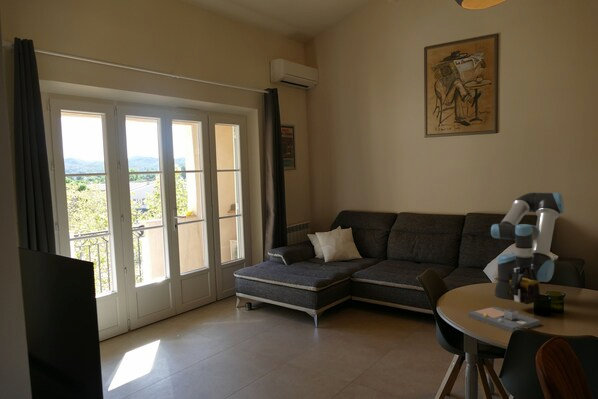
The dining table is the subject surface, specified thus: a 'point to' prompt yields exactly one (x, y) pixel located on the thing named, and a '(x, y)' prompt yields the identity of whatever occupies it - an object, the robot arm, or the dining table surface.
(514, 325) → the breaker panel
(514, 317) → the breaker slider
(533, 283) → the brown and yellow box
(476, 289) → the dining table surface
